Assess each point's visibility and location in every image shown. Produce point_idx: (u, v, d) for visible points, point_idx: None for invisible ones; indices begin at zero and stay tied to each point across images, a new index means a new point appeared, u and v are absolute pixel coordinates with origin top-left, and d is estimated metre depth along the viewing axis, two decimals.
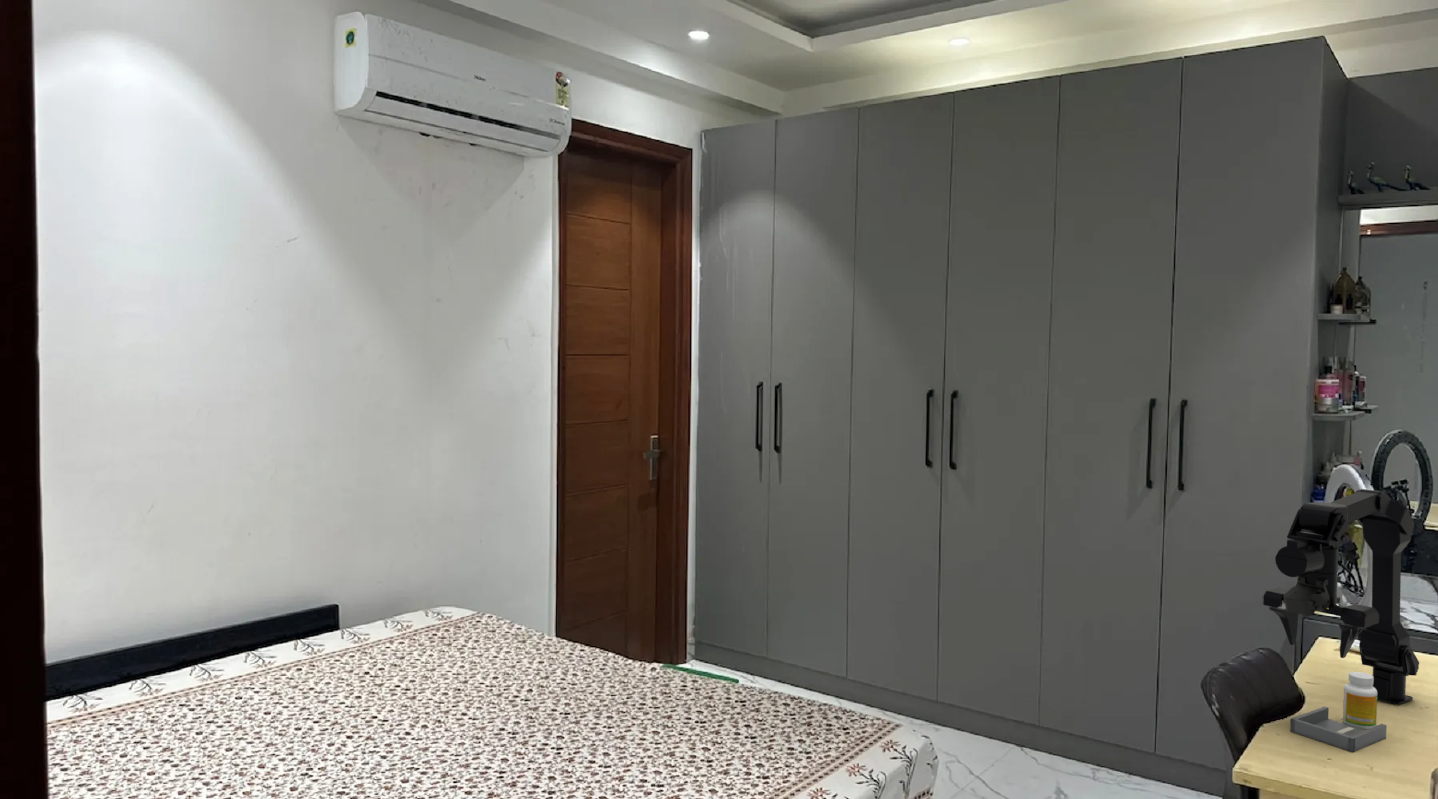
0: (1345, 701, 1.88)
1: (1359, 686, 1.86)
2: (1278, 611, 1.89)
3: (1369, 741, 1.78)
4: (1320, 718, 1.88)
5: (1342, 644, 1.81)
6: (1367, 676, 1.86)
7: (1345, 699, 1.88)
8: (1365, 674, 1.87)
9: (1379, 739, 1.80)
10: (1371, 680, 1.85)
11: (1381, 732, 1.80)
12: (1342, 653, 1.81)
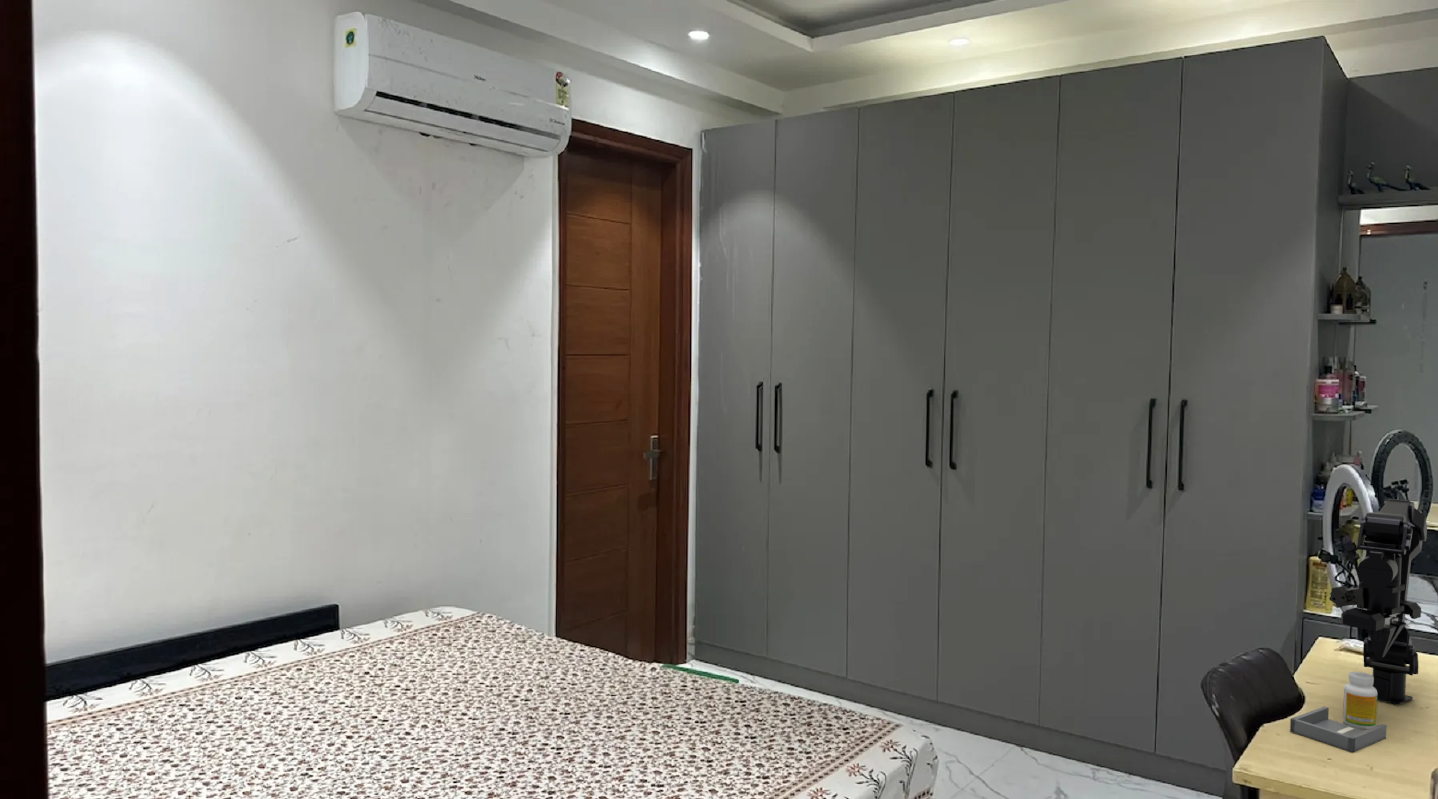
0: (1345, 701, 1.88)
1: (1359, 686, 1.86)
2: None
3: (1369, 741, 1.78)
4: (1320, 718, 1.88)
5: None
6: (1367, 676, 1.86)
7: (1345, 699, 1.88)
8: (1365, 674, 1.87)
9: (1379, 739, 1.80)
10: (1371, 680, 1.85)
11: (1381, 732, 1.80)
12: None
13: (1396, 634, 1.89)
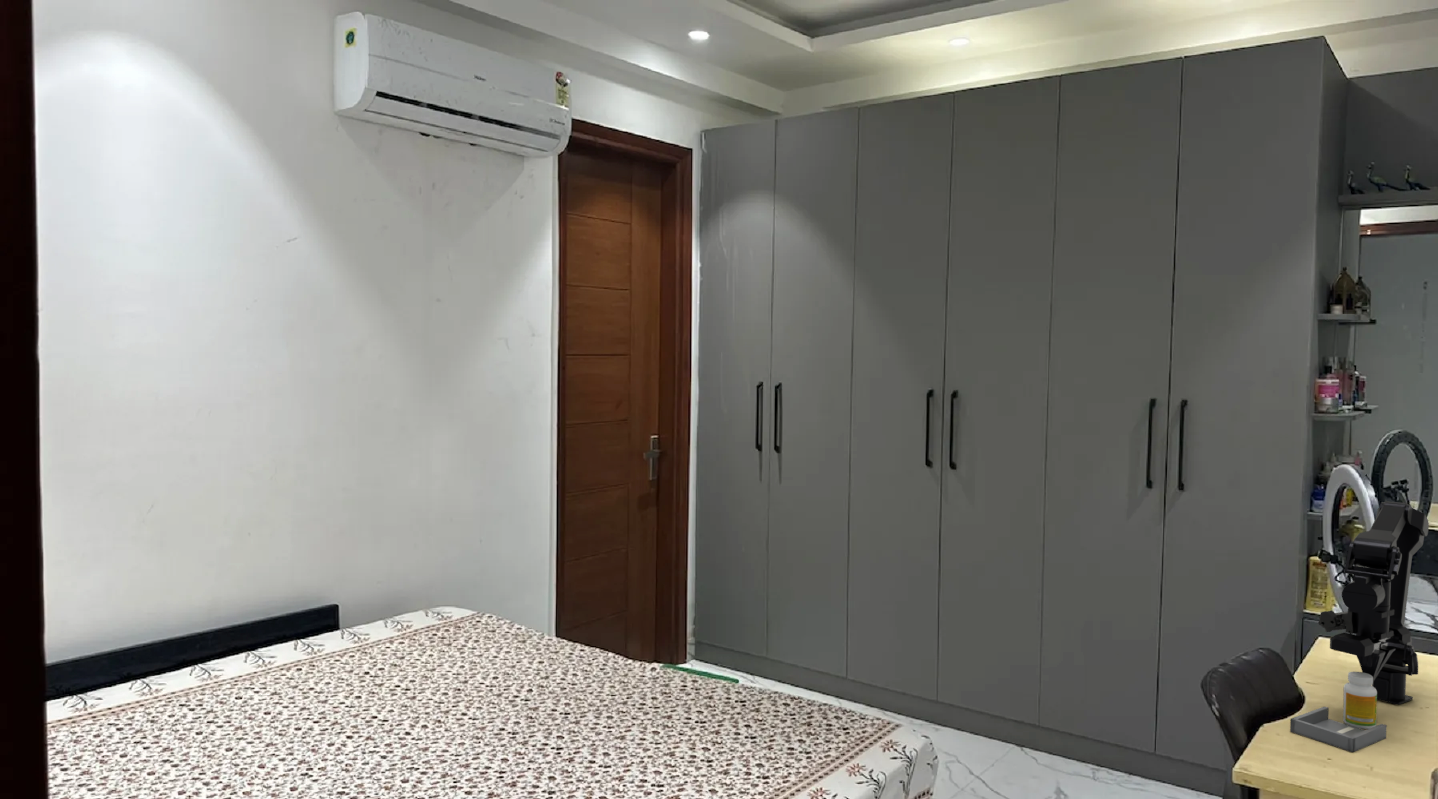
0: (1345, 701, 1.88)
1: (1358, 686, 1.86)
2: None
3: (1369, 741, 1.78)
4: (1320, 718, 1.88)
5: None
6: (1366, 676, 1.86)
7: (1345, 699, 1.88)
8: (1364, 674, 1.87)
9: (1379, 739, 1.80)
10: (1370, 680, 1.85)
11: (1381, 732, 1.80)
12: None
13: (1385, 659, 1.87)
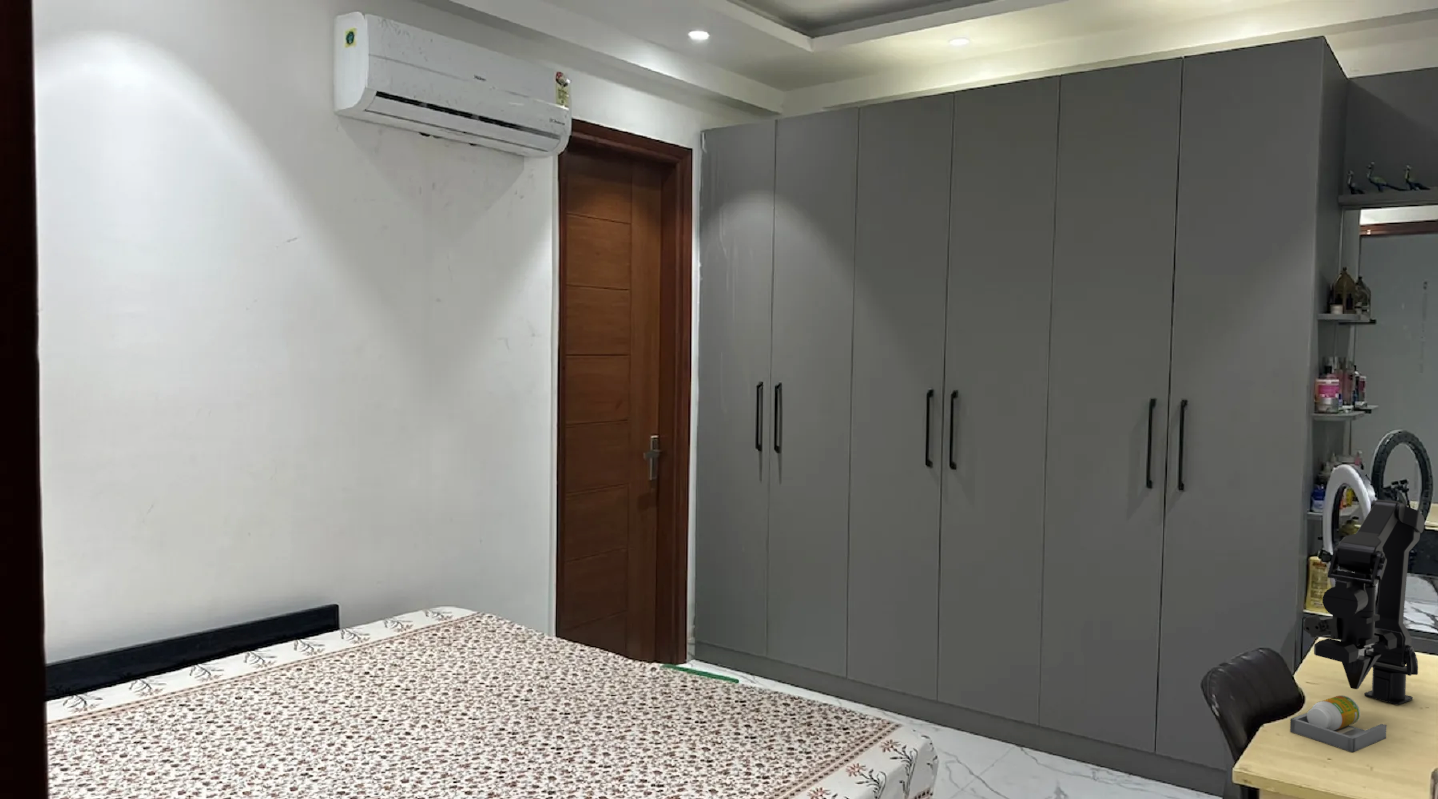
0: None
1: None
2: None
3: (1369, 741, 1.78)
4: None
5: None
6: (1322, 717, 1.82)
7: None
8: (1316, 713, 1.83)
9: (1379, 739, 1.80)
10: (1329, 718, 1.81)
11: (1381, 732, 1.80)
12: None
13: (1371, 665, 1.84)
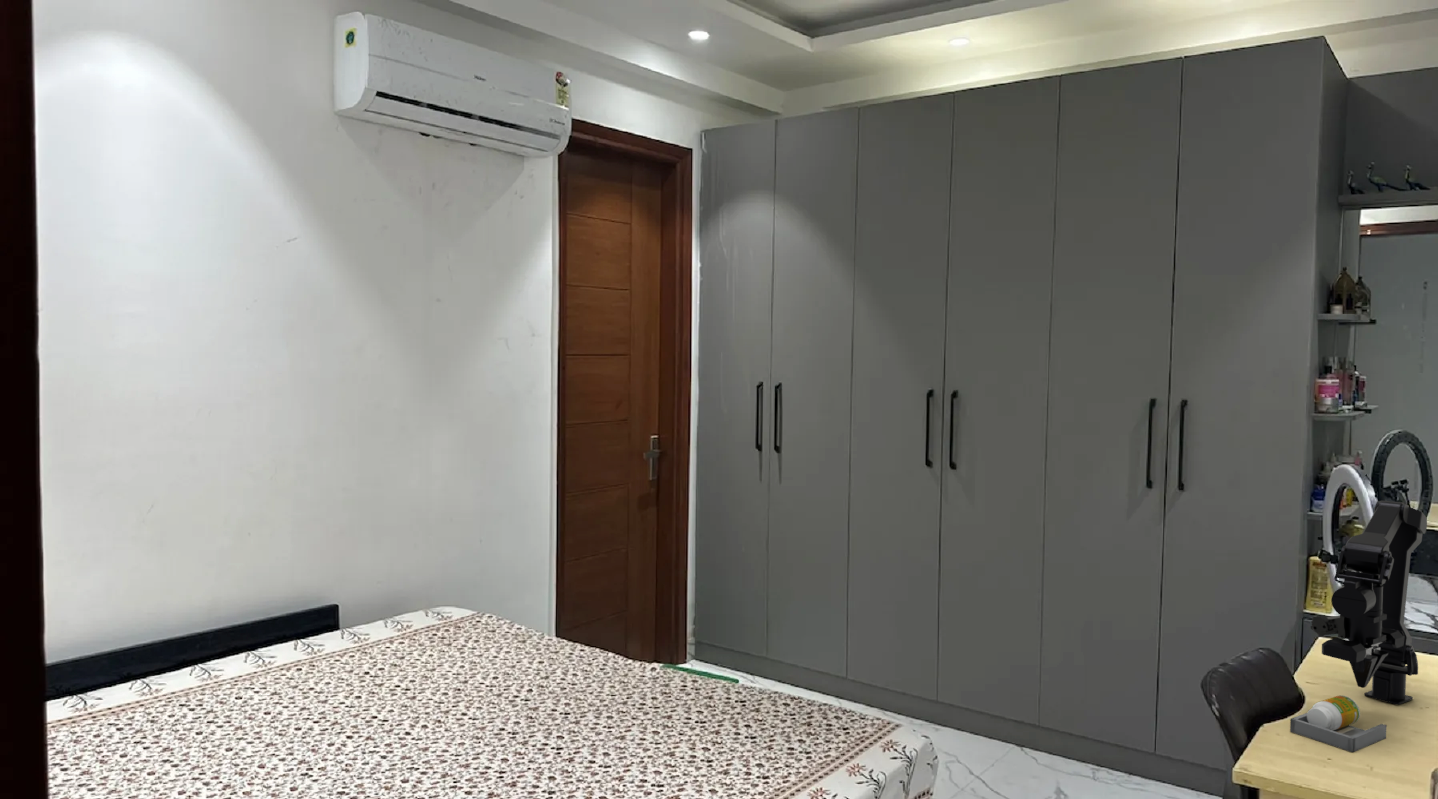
0: None
1: None
2: None
3: (1369, 741, 1.78)
4: None
5: None
6: (1322, 717, 1.82)
7: None
8: (1316, 713, 1.83)
9: (1379, 739, 1.80)
10: (1328, 718, 1.81)
11: (1381, 732, 1.80)
12: None
13: (1378, 664, 1.86)
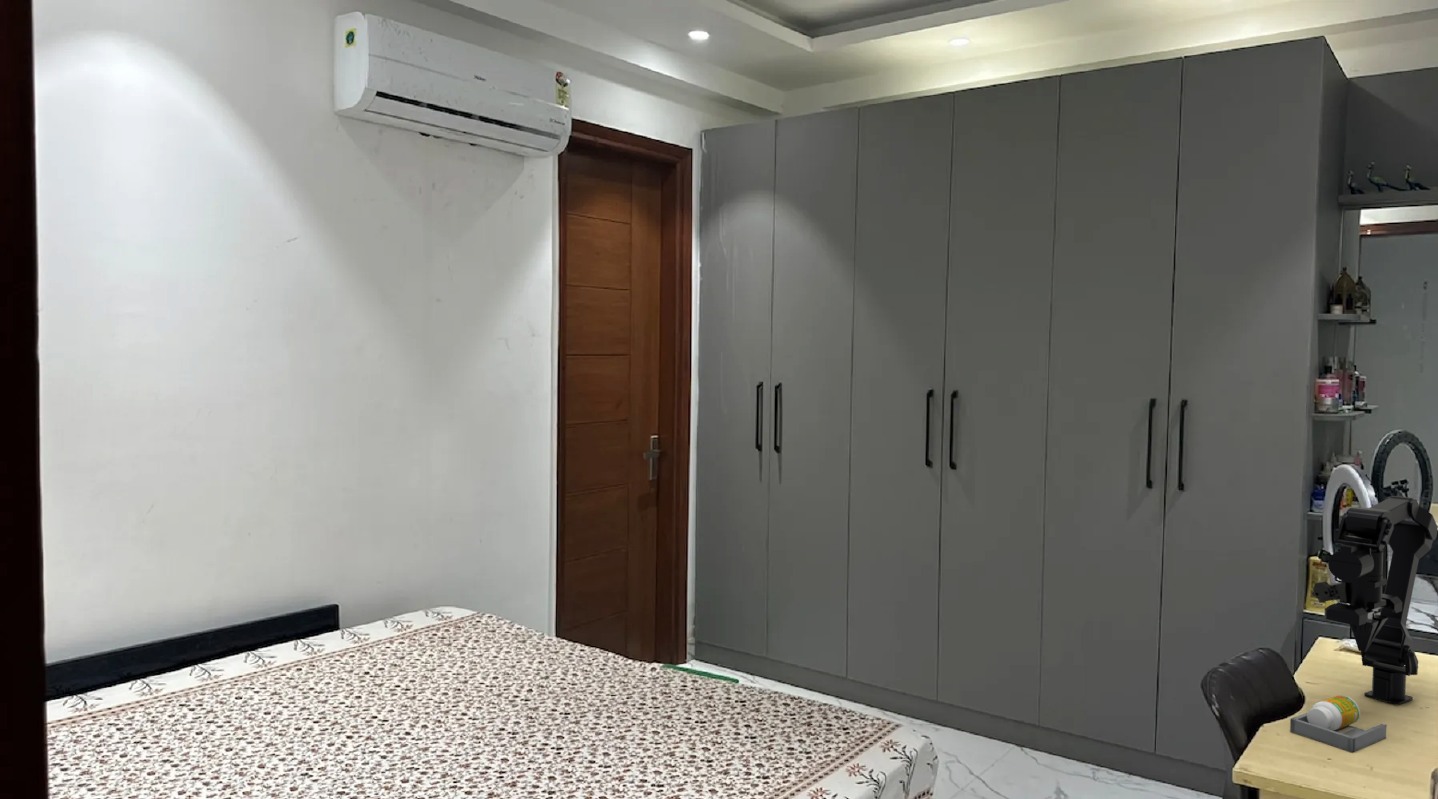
0: None
1: None
2: None
3: (1369, 741, 1.78)
4: None
5: None
6: (1322, 717, 1.82)
7: None
8: (1316, 713, 1.83)
9: (1379, 739, 1.80)
10: (1329, 718, 1.81)
11: (1381, 732, 1.80)
12: None
13: (1378, 628, 1.90)
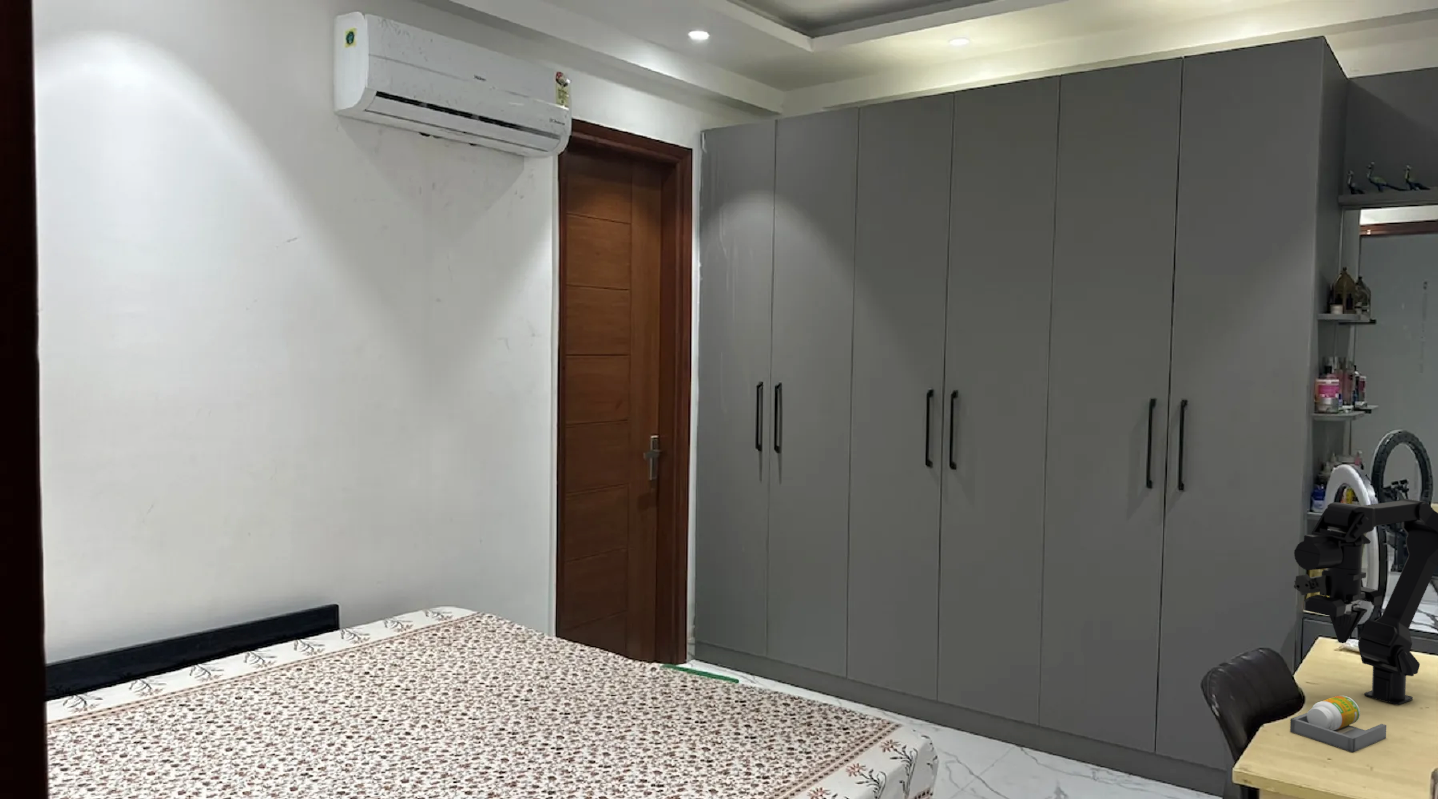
0: None
1: None
2: None
3: (1369, 741, 1.78)
4: None
5: None
6: (1322, 717, 1.82)
7: None
8: (1316, 713, 1.83)
9: (1379, 739, 1.80)
10: (1329, 718, 1.81)
11: (1381, 732, 1.80)
12: None
13: (1357, 620, 1.95)
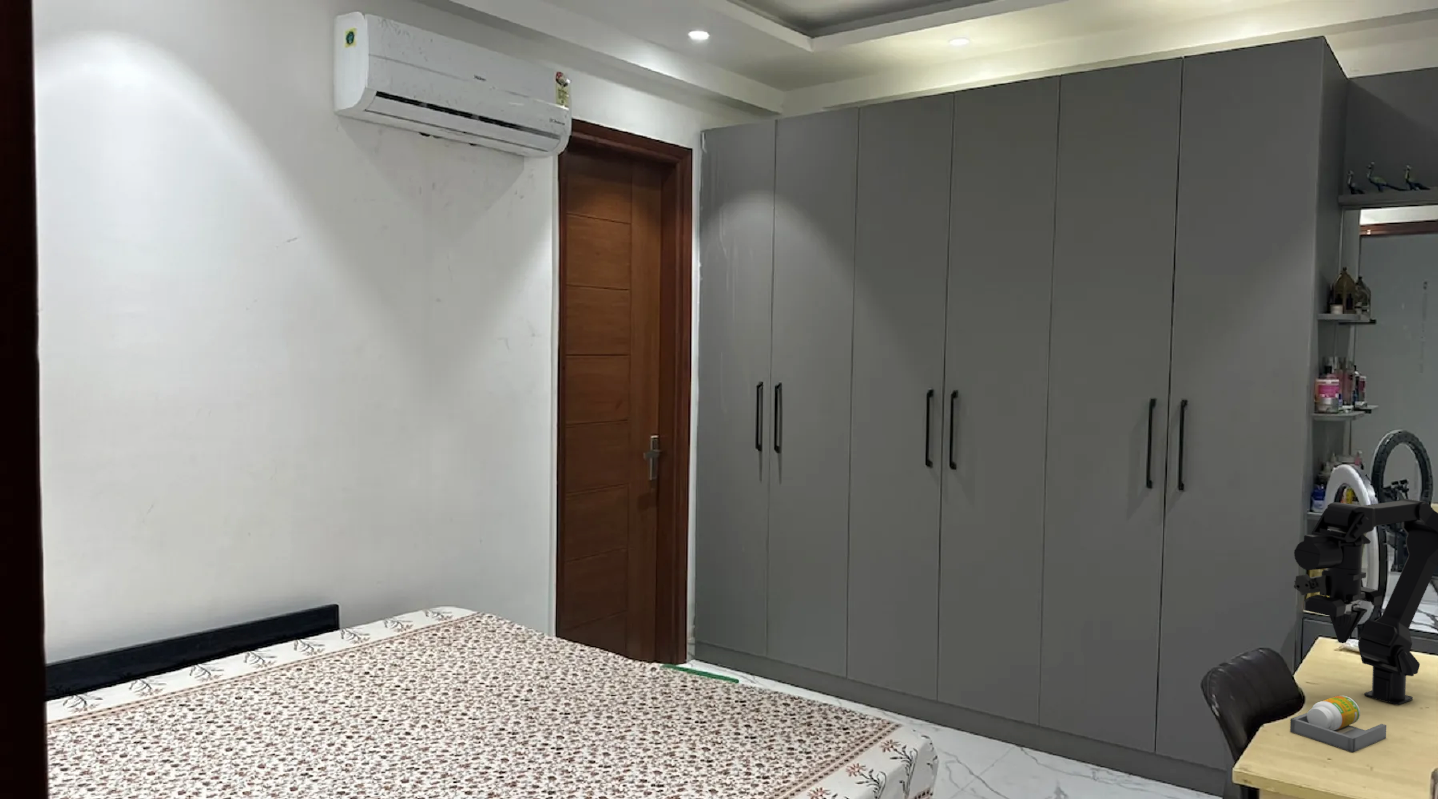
0: None
1: None
2: None
3: (1369, 741, 1.78)
4: None
5: None
6: (1322, 717, 1.82)
7: None
8: (1316, 713, 1.83)
9: (1379, 739, 1.80)
10: (1329, 718, 1.81)
11: (1381, 732, 1.80)
12: None
13: (1357, 620, 1.95)
